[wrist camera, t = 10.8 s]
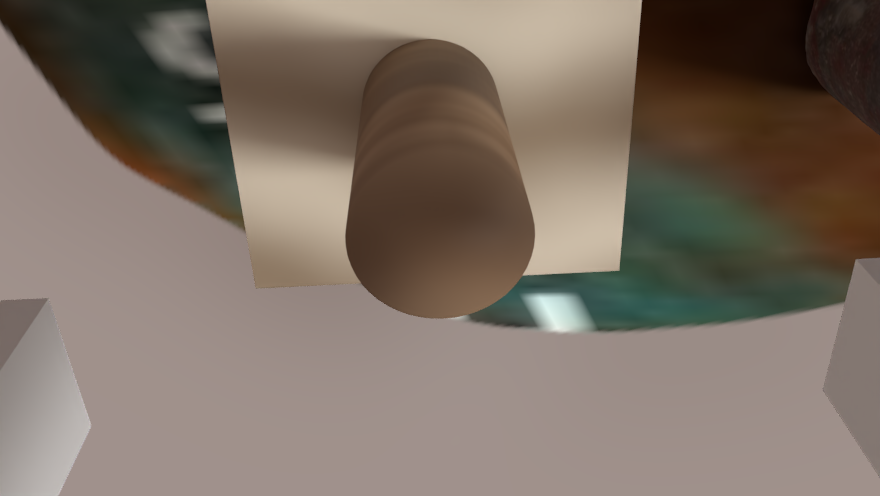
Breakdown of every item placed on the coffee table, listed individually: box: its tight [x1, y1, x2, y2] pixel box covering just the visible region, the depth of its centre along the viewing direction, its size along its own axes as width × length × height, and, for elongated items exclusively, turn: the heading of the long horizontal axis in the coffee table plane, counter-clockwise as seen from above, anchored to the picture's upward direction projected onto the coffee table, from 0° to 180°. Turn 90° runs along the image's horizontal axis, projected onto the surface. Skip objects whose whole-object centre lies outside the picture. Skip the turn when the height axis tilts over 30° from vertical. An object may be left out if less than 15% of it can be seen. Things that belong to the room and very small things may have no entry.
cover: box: [206, 0, 642, 318], centre depth 21 cm, size 12×12×9 cm
